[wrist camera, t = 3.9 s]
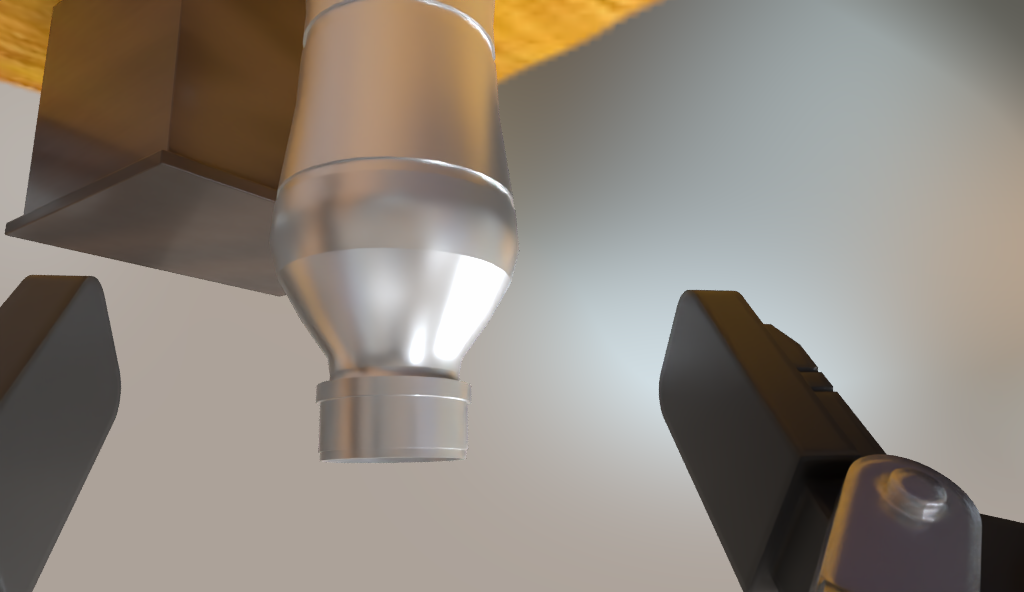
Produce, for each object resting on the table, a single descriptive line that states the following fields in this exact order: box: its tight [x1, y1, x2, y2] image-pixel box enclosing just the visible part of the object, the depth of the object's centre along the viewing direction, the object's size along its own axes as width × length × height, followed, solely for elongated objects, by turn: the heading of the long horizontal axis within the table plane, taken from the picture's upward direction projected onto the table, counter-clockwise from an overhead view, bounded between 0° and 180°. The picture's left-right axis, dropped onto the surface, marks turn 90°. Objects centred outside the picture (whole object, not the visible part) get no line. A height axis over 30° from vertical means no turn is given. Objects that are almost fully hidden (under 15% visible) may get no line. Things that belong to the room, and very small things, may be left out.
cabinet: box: [5, 0, 306, 296], centre depth 33 cm, size 13×12×11 cm
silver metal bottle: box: [269, 0, 519, 463], centre depth 21 cm, size 6×7×20 cm
